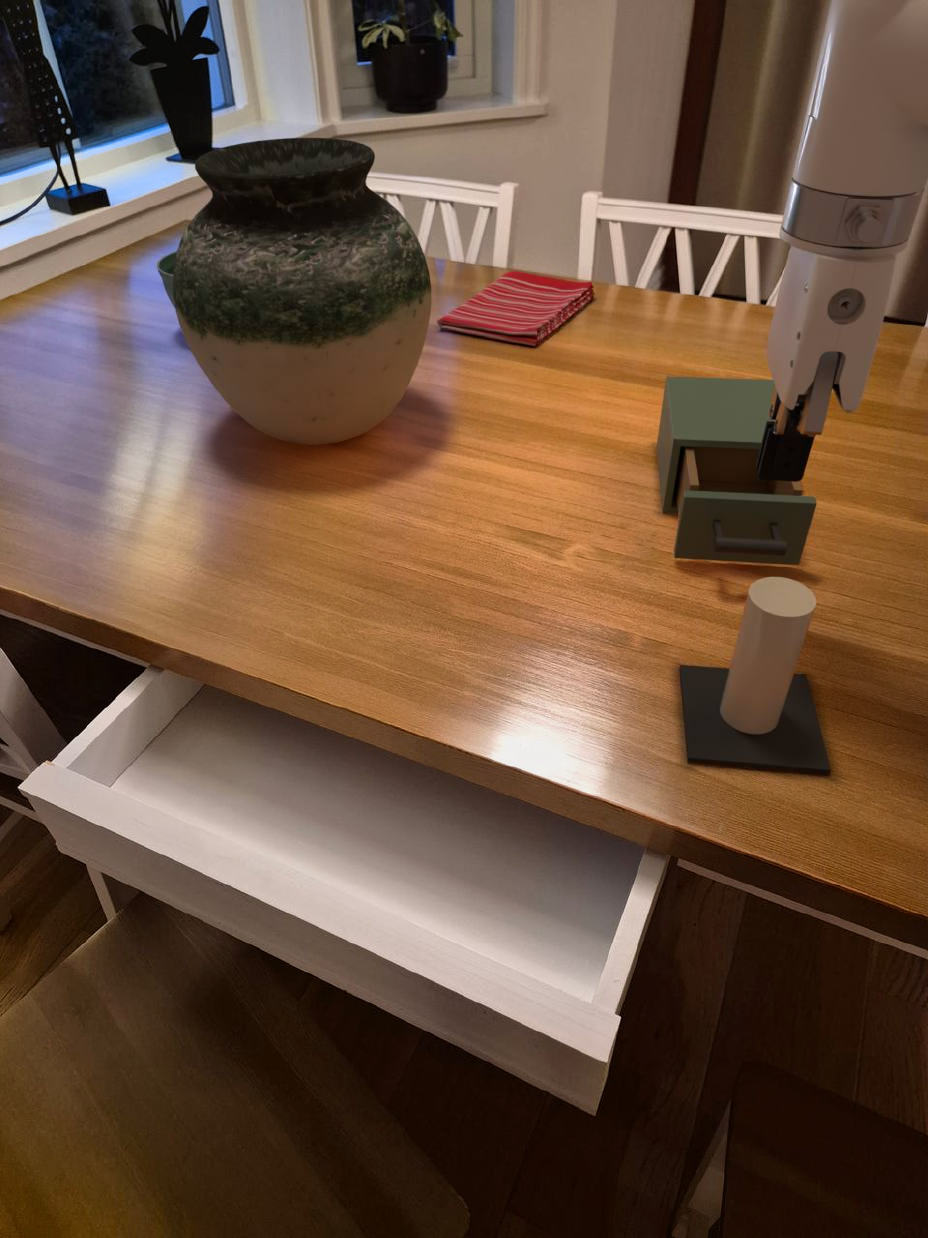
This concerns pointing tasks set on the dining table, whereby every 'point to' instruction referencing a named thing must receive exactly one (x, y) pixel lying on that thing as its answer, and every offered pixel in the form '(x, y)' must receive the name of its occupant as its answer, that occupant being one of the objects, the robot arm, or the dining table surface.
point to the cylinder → (766, 653)
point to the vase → (302, 289)
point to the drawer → (737, 509)
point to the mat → (721, 744)
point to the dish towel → (519, 308)
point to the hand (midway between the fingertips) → (778, 474)
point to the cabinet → (708, 421)
